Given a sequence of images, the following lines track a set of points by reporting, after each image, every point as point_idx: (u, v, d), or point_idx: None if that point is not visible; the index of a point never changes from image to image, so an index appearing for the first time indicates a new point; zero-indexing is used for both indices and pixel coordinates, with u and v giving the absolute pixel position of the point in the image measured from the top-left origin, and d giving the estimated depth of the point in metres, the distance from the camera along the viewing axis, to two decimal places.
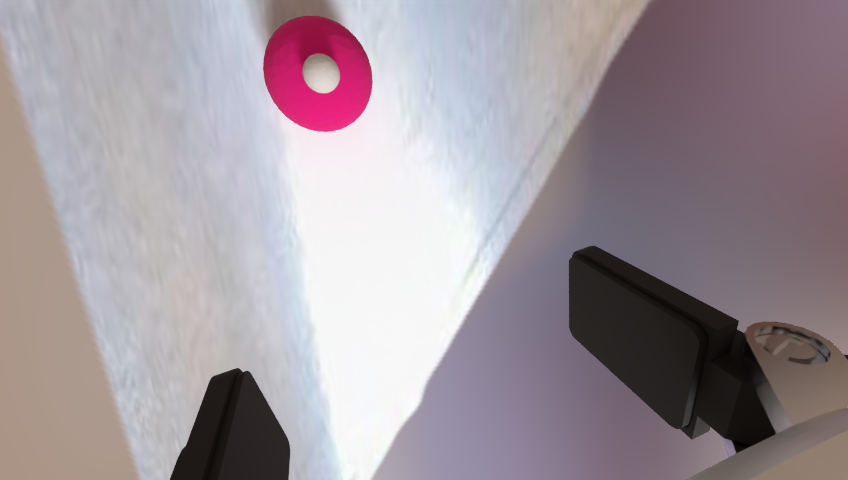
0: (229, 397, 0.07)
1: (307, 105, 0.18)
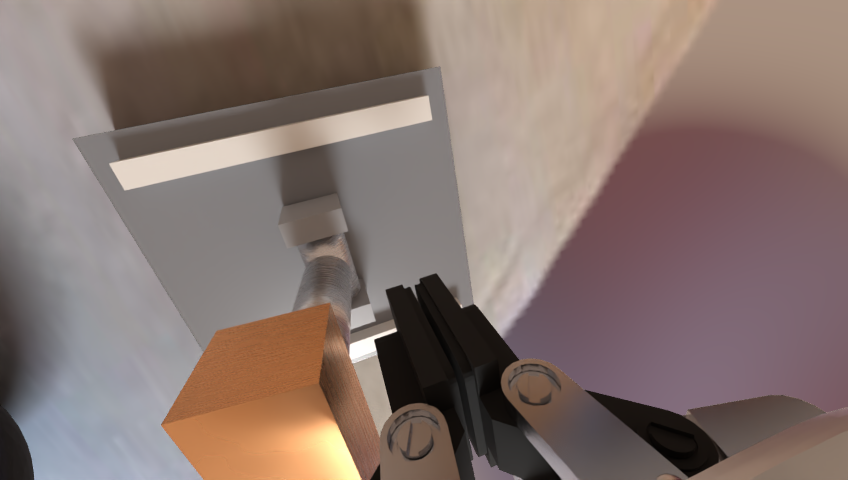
0: (411, 299, 0.09)
1: None
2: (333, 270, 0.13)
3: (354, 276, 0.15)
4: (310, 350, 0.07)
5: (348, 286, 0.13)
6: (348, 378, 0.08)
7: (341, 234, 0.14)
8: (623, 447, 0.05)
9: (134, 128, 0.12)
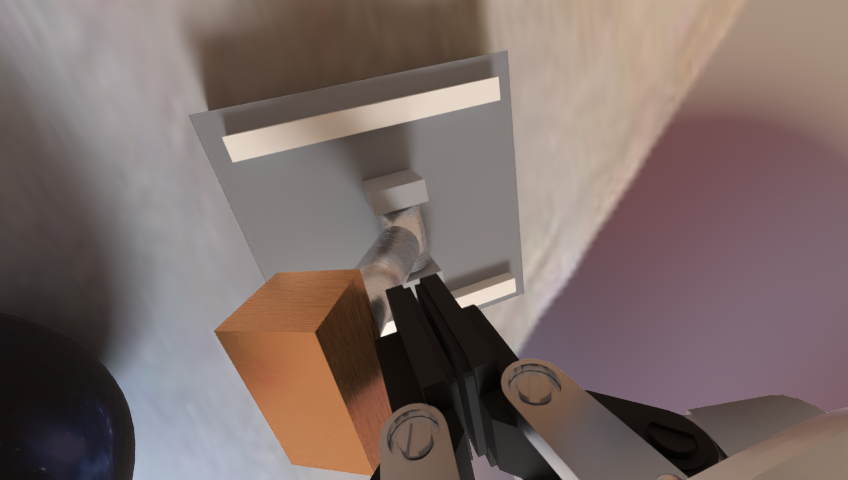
0: (410, 299, 0.09)
1: None
2: (398, 241, 0.14)
3: (423, 250, 0.16)
4: (324, 305, 0.08)
5: (408, 258, 0.14)
6: (365, 337, 0.09)
7: (415, 209, 0.15)
8: (623, 447, 0.05)
9: (241, 106, 0.14)
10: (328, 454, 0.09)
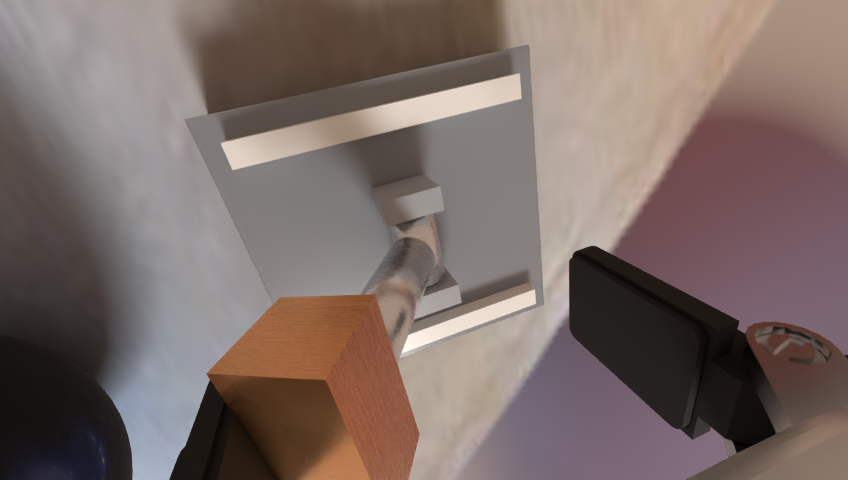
0: None
1: None
2: (413, 254, 0.13)
3: (438, 262, 0.15)
4: (336, 341, 0.07)
5: (424, 273, 0.13)
6: (382, 373, 0.08)
7: (430, 218, 0.14)
8: None
9: (241, 109, 0.13)
10: None
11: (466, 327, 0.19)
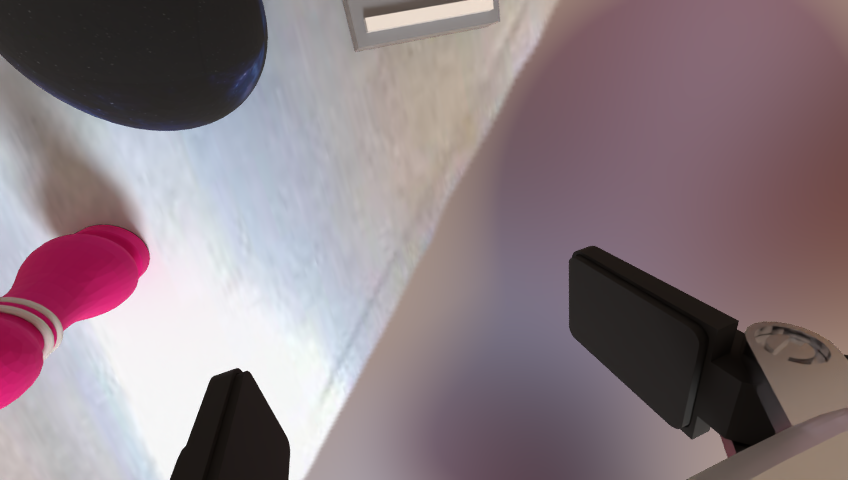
0: (229, 397, 0.07)
1: None
2: None
3: None
4: None
5: None
6: None
7: None
8: None
9: None
10: None
11: (450, 14, 0.31)
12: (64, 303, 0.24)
